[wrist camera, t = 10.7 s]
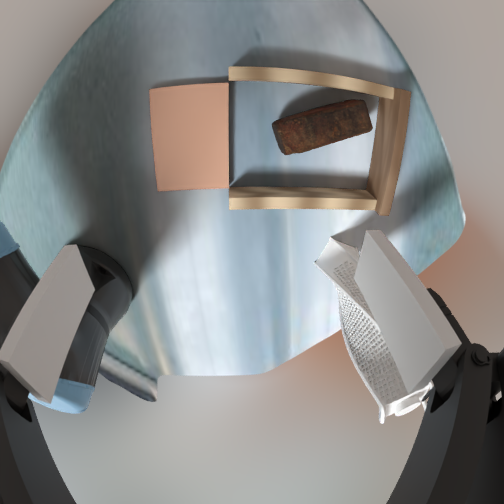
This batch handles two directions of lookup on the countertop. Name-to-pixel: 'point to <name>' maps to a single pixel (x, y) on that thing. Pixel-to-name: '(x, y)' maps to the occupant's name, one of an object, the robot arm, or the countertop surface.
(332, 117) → the brick
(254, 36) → the countertop surface
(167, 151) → the tile
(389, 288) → the robot arm
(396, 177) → the channel
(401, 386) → the skyscraper
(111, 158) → the countertop surface
